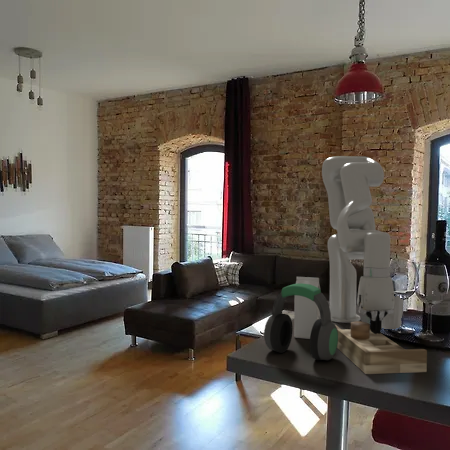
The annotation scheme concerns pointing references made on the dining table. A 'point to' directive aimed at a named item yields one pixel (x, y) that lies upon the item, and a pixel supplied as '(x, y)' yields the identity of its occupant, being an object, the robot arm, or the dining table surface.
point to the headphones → (282, 326)
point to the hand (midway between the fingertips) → (375, 332)
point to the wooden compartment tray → (380, 354)
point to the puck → (360, 330)
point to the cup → (394, 315)
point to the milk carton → (305, 310)
